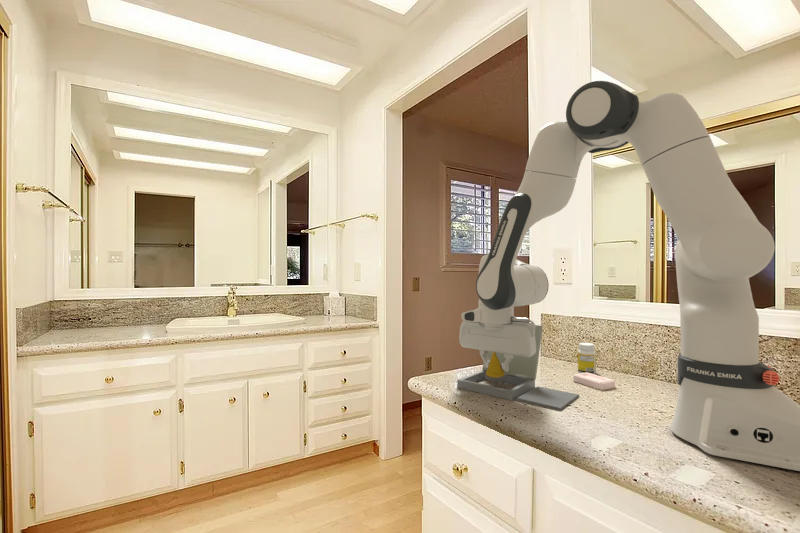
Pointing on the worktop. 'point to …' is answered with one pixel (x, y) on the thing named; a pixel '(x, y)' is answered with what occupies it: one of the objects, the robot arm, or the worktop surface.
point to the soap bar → (594, 381)
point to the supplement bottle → (586, 358)
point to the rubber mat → (548, 398)
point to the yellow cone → (495, 371)
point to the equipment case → (508, 374)
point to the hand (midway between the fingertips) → (496, 369)
